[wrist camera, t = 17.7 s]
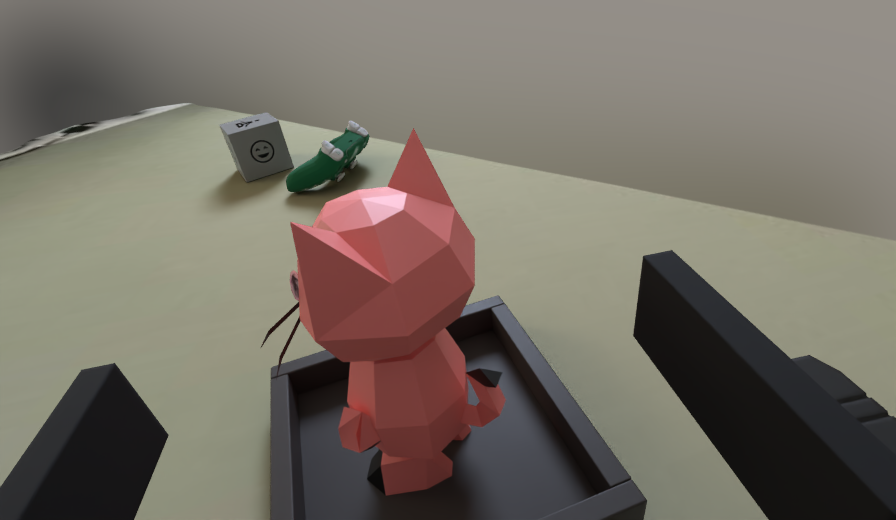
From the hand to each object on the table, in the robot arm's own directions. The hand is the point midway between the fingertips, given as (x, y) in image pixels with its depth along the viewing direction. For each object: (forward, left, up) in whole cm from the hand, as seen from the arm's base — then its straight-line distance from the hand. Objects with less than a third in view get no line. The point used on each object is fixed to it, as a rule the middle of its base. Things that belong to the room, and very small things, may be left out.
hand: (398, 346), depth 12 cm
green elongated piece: (+36, 0, -9) cm, 37 cm away
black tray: (+3, 0, -9) cm, 9 cm away
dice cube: (+43, +7, -9) cm, 44 cm away
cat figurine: (+3, 0, -8) cm, 9 cm away
